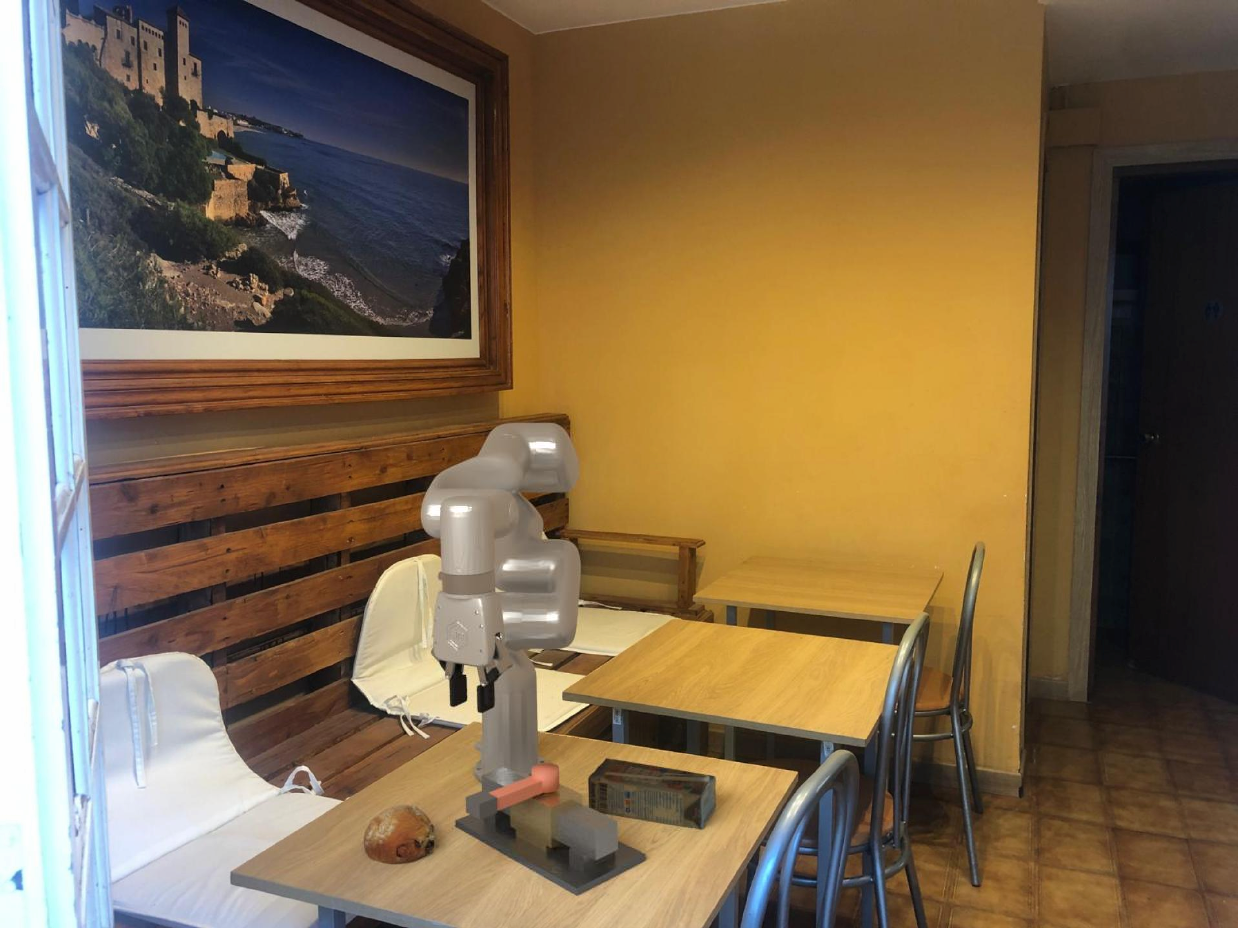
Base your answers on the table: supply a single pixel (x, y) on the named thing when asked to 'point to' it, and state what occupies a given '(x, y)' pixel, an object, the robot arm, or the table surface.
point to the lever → (514, 791)
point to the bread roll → (399, 835)
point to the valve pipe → (554, 836)
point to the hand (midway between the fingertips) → (472, 705)
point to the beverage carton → (652, 793)
